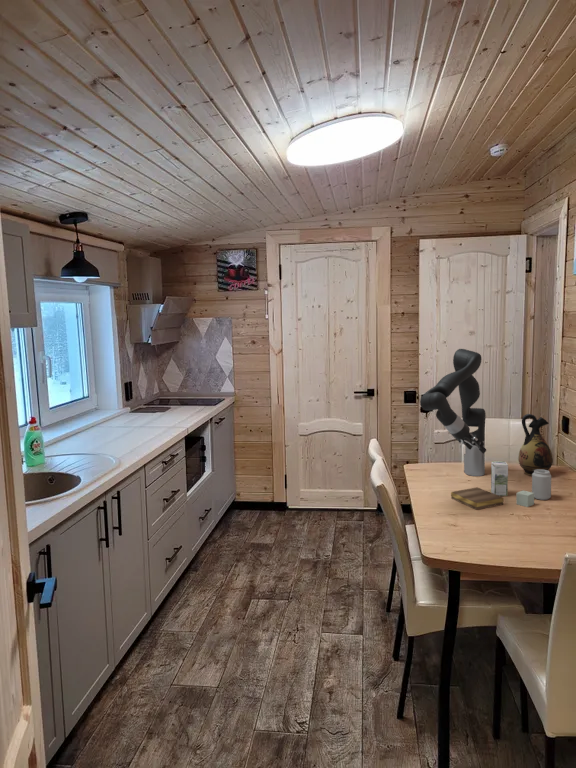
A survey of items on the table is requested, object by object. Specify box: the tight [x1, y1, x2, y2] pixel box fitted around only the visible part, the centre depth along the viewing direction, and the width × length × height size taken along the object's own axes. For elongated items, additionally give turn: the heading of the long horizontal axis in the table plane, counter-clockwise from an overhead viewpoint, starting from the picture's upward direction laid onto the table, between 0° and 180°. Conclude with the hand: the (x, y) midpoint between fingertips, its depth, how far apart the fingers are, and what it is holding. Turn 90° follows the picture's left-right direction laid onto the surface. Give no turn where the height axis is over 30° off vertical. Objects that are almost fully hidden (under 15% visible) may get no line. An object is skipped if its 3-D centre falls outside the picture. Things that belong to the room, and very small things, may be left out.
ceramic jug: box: [517, 413, 554, 477], centre depth 272 cm, size 17×15×30 cm
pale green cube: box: [515, 489, 535, 508], centre depth 232 cm, size 5×5×5 cm
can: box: [531, 469, 552, 501], centre depth 239 cm, size 8×8×12 cm
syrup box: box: [490, 460, 509, 497], centre depth 245 cm, size 6×6×14 cm
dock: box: [450, 486, 504, 511], centre depth 237 cm, size 16×14×3 cm
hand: (477, 449), depth 239 cm, fingers open, 8 cm apart
